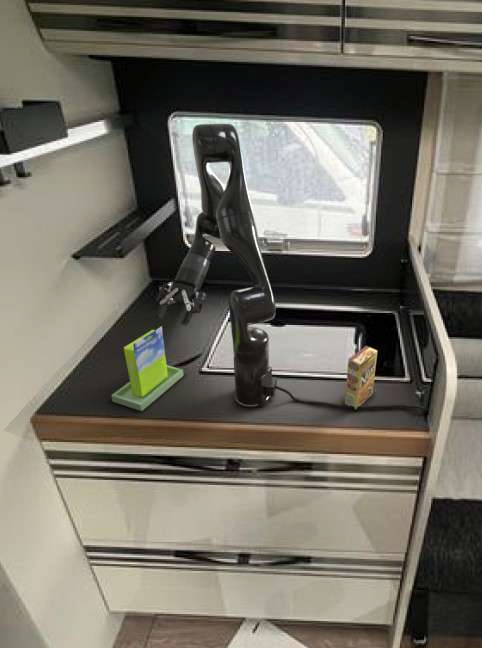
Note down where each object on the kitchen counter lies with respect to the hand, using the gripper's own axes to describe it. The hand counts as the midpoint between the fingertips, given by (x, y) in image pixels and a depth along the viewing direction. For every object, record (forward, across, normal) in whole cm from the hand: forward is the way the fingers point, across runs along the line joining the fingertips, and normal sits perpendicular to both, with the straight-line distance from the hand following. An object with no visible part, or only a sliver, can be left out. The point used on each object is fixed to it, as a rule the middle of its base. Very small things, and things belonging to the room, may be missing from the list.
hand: (171, 321), depth 115 cm
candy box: (+6, +56, +17) cm, 59 cm away
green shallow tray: (+19, 0, +4) cm, 19 cm away
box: (+19, 0, +3) cm, 19 cm away
